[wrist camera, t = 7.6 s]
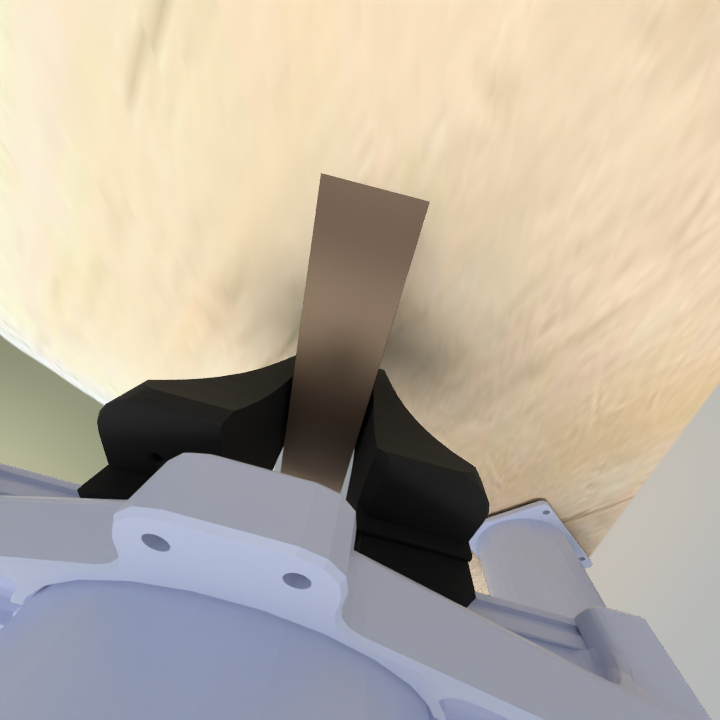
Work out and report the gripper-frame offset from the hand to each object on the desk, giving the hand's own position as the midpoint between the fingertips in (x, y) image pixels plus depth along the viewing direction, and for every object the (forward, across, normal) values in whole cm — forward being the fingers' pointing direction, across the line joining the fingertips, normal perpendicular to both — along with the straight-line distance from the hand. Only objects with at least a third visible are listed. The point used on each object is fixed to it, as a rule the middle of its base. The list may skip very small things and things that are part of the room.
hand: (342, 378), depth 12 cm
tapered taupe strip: (+2, 0, 0) cm, 2 cm away
